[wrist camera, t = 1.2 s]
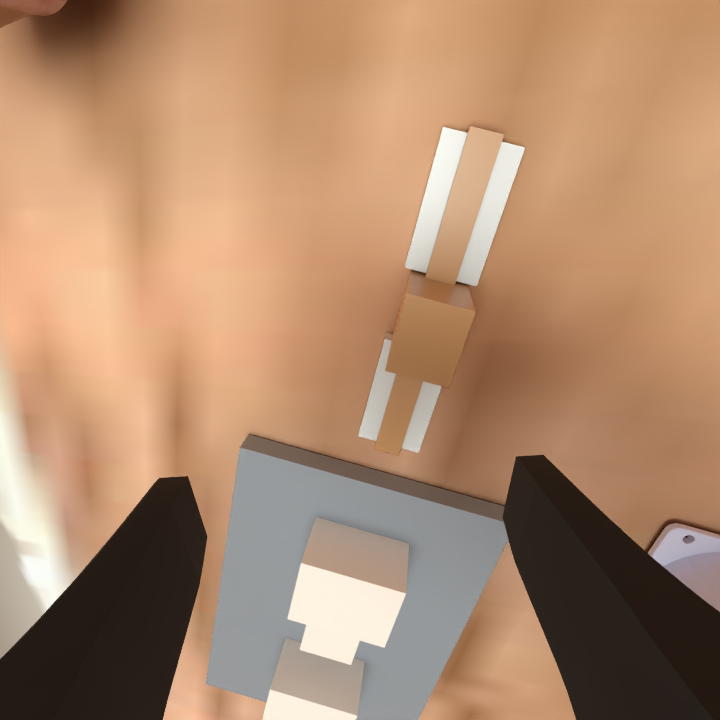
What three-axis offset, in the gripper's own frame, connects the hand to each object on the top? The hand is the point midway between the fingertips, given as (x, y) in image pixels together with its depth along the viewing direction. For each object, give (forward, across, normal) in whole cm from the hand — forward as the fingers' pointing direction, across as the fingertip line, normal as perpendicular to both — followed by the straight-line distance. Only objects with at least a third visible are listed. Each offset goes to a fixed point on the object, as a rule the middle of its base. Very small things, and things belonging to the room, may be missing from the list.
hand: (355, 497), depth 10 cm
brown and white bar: (+11, -4, +1) cm, 11 cm away
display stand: (+8, +1, +19) cm, 21 cm away
